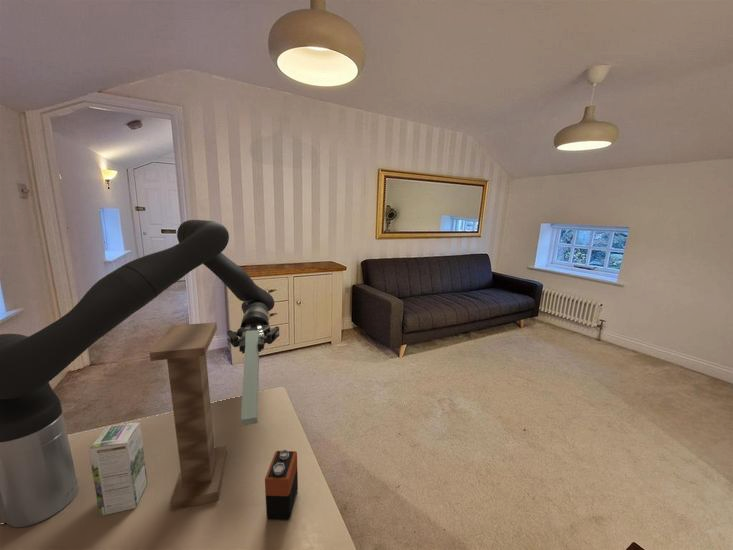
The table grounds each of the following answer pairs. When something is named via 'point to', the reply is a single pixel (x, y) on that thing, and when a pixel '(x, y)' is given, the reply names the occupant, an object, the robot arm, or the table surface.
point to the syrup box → (118, 468)
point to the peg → (250, 379)
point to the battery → (281, 485)
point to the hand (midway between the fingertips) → (251, 348)
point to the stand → (192, 413)
